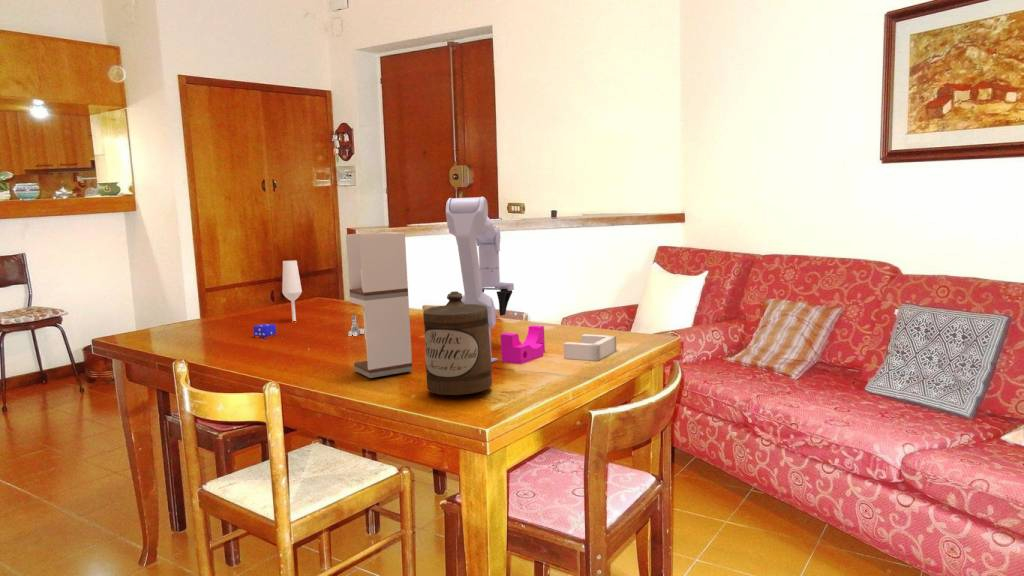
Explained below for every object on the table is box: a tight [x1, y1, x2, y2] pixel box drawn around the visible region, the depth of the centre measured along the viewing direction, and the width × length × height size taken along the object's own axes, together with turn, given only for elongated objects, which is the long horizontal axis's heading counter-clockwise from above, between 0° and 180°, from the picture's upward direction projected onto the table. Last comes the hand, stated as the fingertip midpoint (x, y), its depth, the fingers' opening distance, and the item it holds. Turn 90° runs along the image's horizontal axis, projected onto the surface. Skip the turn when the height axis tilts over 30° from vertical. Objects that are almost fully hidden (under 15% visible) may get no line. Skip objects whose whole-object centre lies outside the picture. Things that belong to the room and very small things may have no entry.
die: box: [252, 323, 277, 337], centre depth 229 cm, size 5×5×5 cm
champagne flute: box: [281, 259, 303, 322], centre depth 251 cm, size 7×7×24 cm
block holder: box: [563, 333, 617, 362], centre depth 190 cm, size 14×10×4 cm
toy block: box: [500, 324, 546, 365], centre depth 189 cm, size 15×6×8 cm, turn 144°
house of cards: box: [348, 315, 365, 337], centre depth 227 cm, size 9×9×8 cm
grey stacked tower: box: [345, 231, 413, 379], centre depth 178 cm, size 11×11×35 cm
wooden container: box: [422, 290, 493, 396], centre depth 160 cm, size 15×15×22 cm
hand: (491, 314), depth 205 cm, fingers open, 7 cm apart
